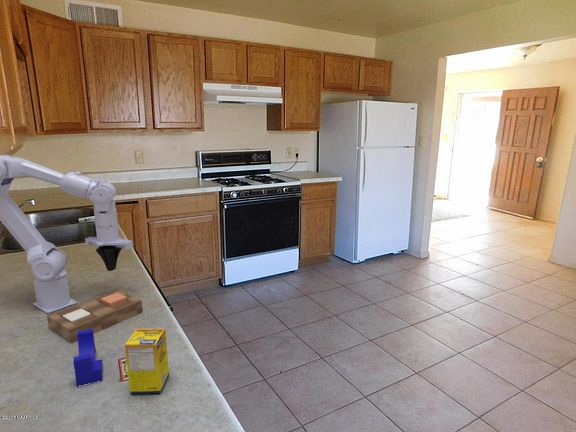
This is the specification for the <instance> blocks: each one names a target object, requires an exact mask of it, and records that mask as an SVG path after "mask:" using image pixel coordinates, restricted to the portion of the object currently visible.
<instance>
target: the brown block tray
mask: <svg viewBox="0 0 576 432" xmlns="http://www.w3.org/2000/svg"><path fill="white" fill-rule="evenodd" d="M115 293H119V294H122V295H124V296H126V297H127V301H125V302H123V303H120V304H118V305H115V306H113V307H108V306H106V305H104V304H102V303H101V298H104V297H106V296H109V295H112V294H115ZM142 302H143V301H142V300H141V299H139V298H136V297H134V296H132V295H130V294H128V293H125V292H124V291H121V290H119V289H116V290H114V291H111V292H108V293H105V294H101V295H99V296H97V297H94V298H91V299H89V300H86V301H83V302H81V303H78V304H77V303H76V304H73V305H71V306H68V307H65V308H62V309H60V310H57V311H54V312H51V313H49V314H47V315H46V317H47V318H46V319H47V324H48V328H49V329H50V330H51V331H53V332H54V333H56V334H57V335H59V336H60V337H62V338H63V339H64V340H66V341H67V342H69V343H71V344H73V343H76V342H78V337H77V333H78V331H83V330H88V329H93V334H94V335H95V334H96V333H98V332H101V331H103V330H105V329H108V328H110V327H113V326H114V325H117V324H119V323H121V322H123V321H126V320H128V319H130V318H133V317H135V316H137V315H140V314H142V313H143V303H142ZM79 309H84V310H85V311H87V312H89V313H91V315H90V316H87V317H85V318H82V319H80V320H77V321H74V322H72V323H70V322H68V321H67V320H65V319H63V317H62V316H63V315H66V314H68V313H71V312H74V311H76V310H79Z"/></svg>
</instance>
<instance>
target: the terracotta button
mask: <svg viewBox="0 0 576 432" xmlns="http://www.w3.org/2000/svg"><path fill="white" fill-rule="evenodd" d="M125 301H127V297H126V296H124V295H122V294H119V293H115V294H112V295H109V296H106V297H104V298H101V303H102V304H104V305H106V306H108V307H113V306H115V305H118V304H120V303H123V302H125Z"/></svg>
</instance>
